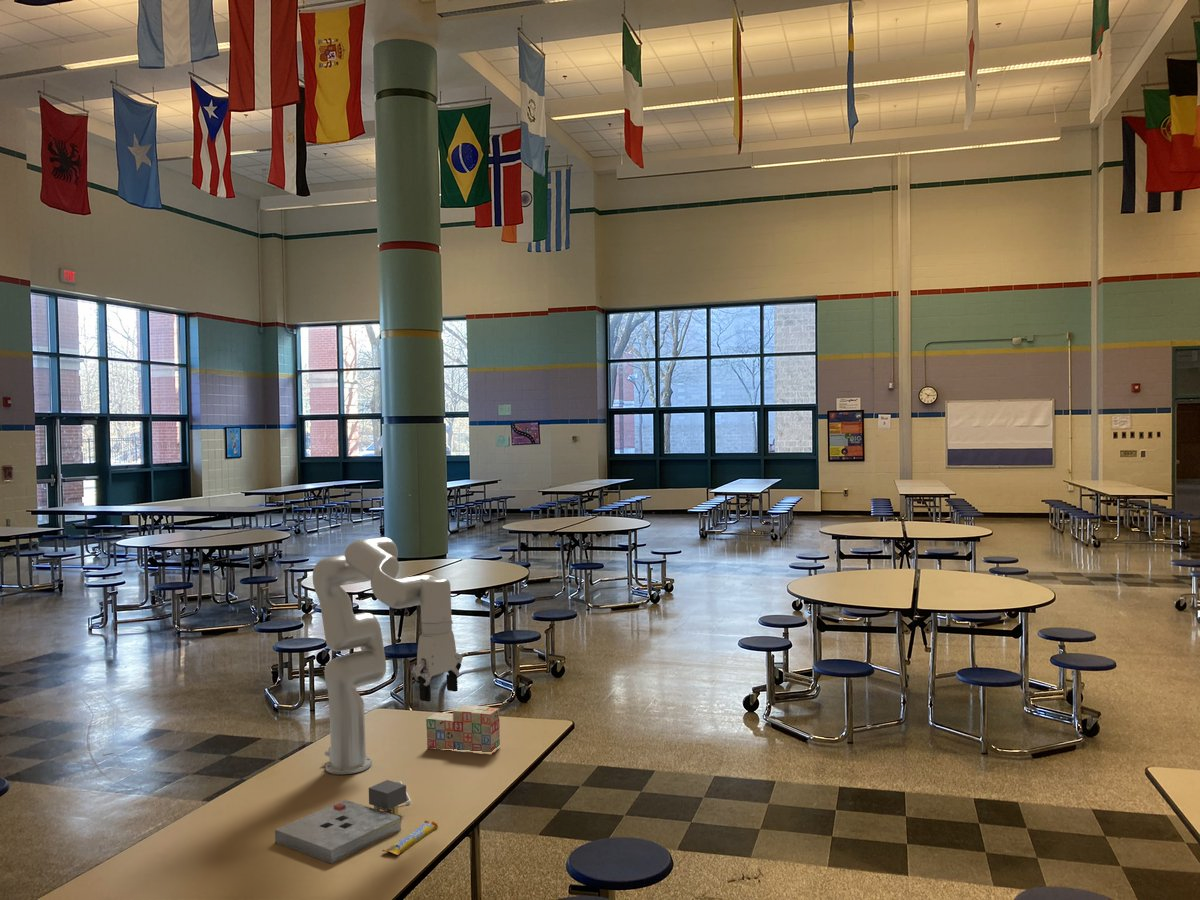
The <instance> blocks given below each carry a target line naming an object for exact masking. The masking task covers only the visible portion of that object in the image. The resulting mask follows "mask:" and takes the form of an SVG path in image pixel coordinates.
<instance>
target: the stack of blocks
mask: <svg viewBox="0 0 1200 900" xmlns="http://www.w3.org/2000/svg"><path fill="white" fill-rule="evenodd" d="M425 722H426V723H425V724H426V725H425V726H426V746H427V749H428V748H436V749H435V750H437V749H453V750H454V749H457V750H470V751H482V752H492V751H493V750H494V749H495V748H497V747H498V746H499V745H500V746H501V738H500V727H501V725H500V724H501V723H500V708H498V707H490V706H481V705H480V706H478V705H466V704H462V705H460V706H458V707H457V708H455V709H454V710H453V711H452V713H446V712H445V713H443V712H435V713H433V714H432V715H430V716H429V717H427V718H426V720H425Z"/></svg>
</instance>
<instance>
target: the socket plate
mask: <svg viewBox="0 0 1200 900" xmlns="http://www.w3.org/2000/svg"><path fill="white" fill-rule="evenodd" d="M401 820H402V819H401V816H399V815H397V816H396V815H393V814H392V813H389V812H387V811H382V810H381V809H380V810H377V809H374V807H370V806H367V805H365V804H364V805H363V804H362V803H361V804H360V803H357V802H353V801H351V800H348V799H343V800H341V801H338V802H336V803H333V804H331V805H329V806H327V807H324V808H322V809H320V810H318V811H315V812H313V813H309V814H308V815H306V816H304V817H301V818H299V819H296V820H293V821H292V822H289V823H287V824H285V825H283V826H280V827H278V828H276V829H274V839H275V843H276V844H278V845H281V846H283V847H286V848H289V849H291V850H294V851H295V852H296V851H297V852H299V853H302V854H304V855H308V856H309V857H313V858H315V859H318V860H321V861H323V862H325V863H329V864H332V865H333V864H335V863H337V862H339V861H341V860H343V859H345V858H347V857H349V856H351V855H353V854H355V853H357V852H359V851H361V850H362V849H365V848H367V847H369V846H371V845H373V844H376V843H377V842H379V841H381V840H383V839H384V838H387V837H389V836H391V835H393V834H395V833H398V832H399V831H401V830H402V821H401Z"/></svg>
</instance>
